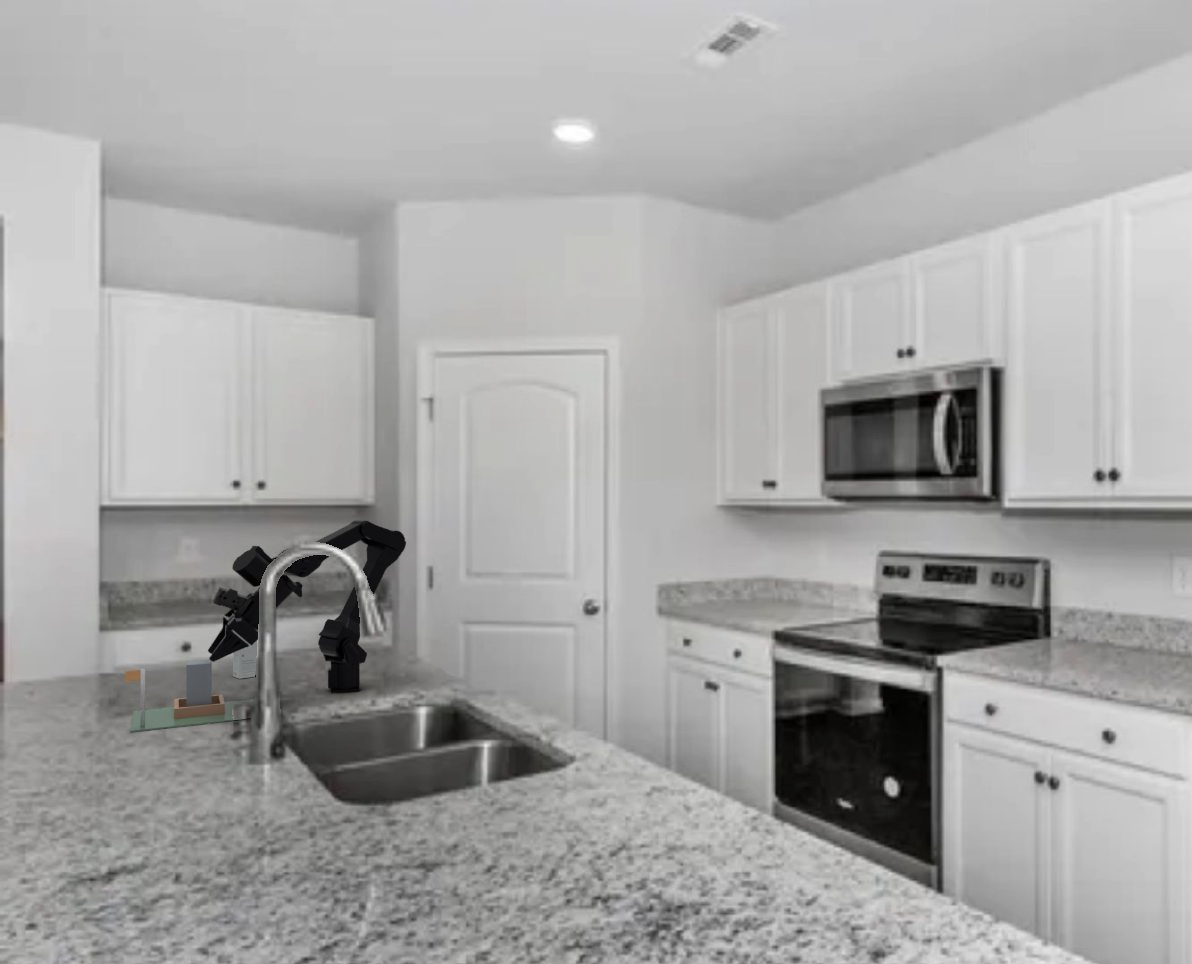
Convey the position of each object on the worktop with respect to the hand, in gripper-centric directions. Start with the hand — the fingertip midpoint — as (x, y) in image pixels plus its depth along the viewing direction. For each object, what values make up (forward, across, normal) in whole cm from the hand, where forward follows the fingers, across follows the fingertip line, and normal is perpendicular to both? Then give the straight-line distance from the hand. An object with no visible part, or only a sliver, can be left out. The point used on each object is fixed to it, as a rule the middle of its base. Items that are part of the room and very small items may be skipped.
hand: (210, 656), depth 180 cm
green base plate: (+10, +2, +6) cm, 12 cm away
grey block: (+9, 0, +6) cm, 11 cm away
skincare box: (+2, -33, +15) cm, 36 cm away
